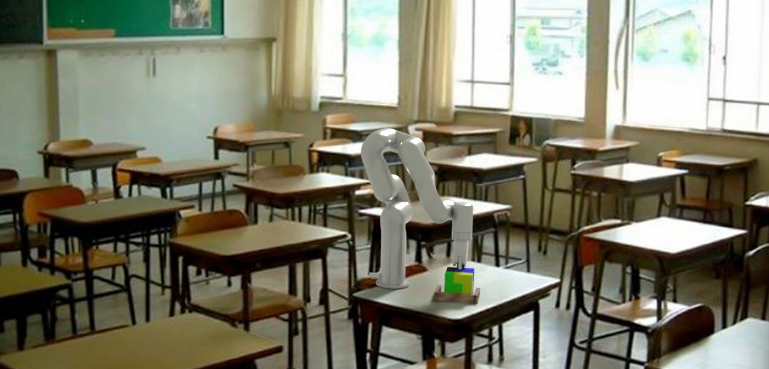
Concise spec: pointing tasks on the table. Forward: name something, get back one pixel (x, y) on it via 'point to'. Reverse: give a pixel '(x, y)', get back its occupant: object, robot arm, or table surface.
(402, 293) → the table surface
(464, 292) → the puzzle toy
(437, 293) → the base frame
